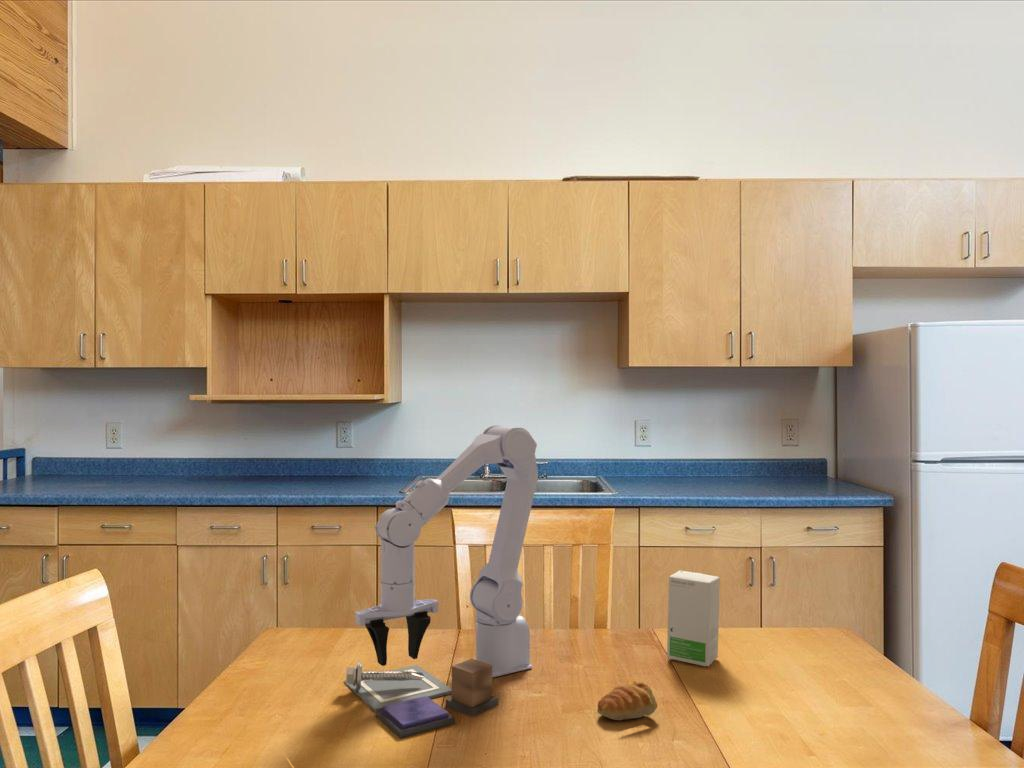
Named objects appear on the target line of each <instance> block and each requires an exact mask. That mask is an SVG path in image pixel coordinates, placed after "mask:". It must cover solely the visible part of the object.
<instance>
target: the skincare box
mask: <svg viewBox="0 0 1024 768" xmlns="http://www.w3.org/2000/svg"><path fill="white" fill-rule="evenodd" d="M720 579H721V576H716V575H711V574H705V573H701V572H693V571H686V570H680V569H679V570H678V571H676V572H675V573H673V574H671V575H670V576H669V577H668V604H667V605H668V607H667V640H666V642H667V644H666V658H667V659H669V660H675V661H680V662H684V663H689V664H692V665H693V664H694V665H698V666H703V667H706V666H708V667H709V666H710V665H711V664H712V663H713V662H714V661H715V660H716V659H717V658H718V657H719V656H718V655H719V628H720V627H719V626H720V625H719V621H720V616H719V615H720V588H721V587H720V584H721V582H720V581H721V580H720Z"/></svg>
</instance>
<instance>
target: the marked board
mask: <svg viewBox="0 0 1024 768" xmlns="http://www.w3.org/2000/svg"><path fill="white" fill-rule="evenodd" d="M393 670H394V671H400V670H401V671H406V672H407V671H408V672H422V673H423V674H424V678H423V679H422V680H409V681H402V682H401V681H395V682H394V681H388V682H387V681H381V682H380V681H377V682H376V681H370V682H369V681H363V682H362V681H361V687H360V690H358V692H356V685H355V686H353V684H346V679H345V680H343V683H344V684H345V685H346V686H347V687H348V688H349V689H350V690H351V691H352V692H353V693H354V694H356V696H357V697H359V698H360V700H362V701H363V702H364V704H366V705H367V706H368V707H369V708H370V709H371V710H372V711H374V712H375V713H376V710H378V709H382V706H387V705H391V704H395V703H399V702H403V701H407V700H411V699H415V698H420V697H424V696H427V697H429V698H430V699H431V700H432V699H435V698H439V697H443V696H447V695H452V687H450V686H448V685H447V684H446V683H444V682H443V681H441V680H440V679H438V678H436V677H435V676H434V675H433V674H431V673H430V672H428V671H426V670H425V669H424V668H422V667H420V666H419V665H418V664H416V665H411V666H406V667H402V668H397V669H393ZM393 670H392V669H391V671H393Z"/></svg>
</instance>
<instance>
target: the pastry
mask: <svg viewBox="0 0 1024 768" xmlns="http://www.w3.org/2000/svg"><path fill="white" fill-rule="evenodd" d="M653 693H654V692H653V691H652V688H651V687H650V686H649V685H648V684H647V683H645V682H643V681H638V682H637V681H633V682H632V683H630V684H628V683H627V684H623V685H618V686H615V687H614V688H613V689H612V690H611V691H609V692H608V693H606V694H605V695H604V696H603V697H601V698H600V700H598V702H597V710H596V711H597V714H599V715H601V716H603V717H606V718H608V719H611V720H614V721H622V720H632V719H638V718H643V717H644V716H650V715H652V714H653V713H655V711H656V710H657V708H658V703H657V700H656V696H655V695H654V694H653Z"/></svg>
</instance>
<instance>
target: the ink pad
mask: <svg viewBox="0 0 1024 768" xmlns="http://www.w3.org/2000/svg"><path fill="white" fill-rule="evenodd" d="M375 717H376V718H377V719H379V720H380V721H381V722H382V723H383V724H384V725H385V727H387V728H389V730H391V731H392V733H394V734H395V735H396V736H397V737H398V738H399V739H403V738H406V737H410V736H414V735H419V734H421V733H426V732H429V731H433V730H437V729H440V728H443V727H447V726H451V725H455V724H456V720H455V719H456V716H454V715H453V714H451V713H450V712H449V711H447V710H446V709H445V708H443V707H442V706H441V705H439V704H438V703H437V702H435V701H434V700H433V699H432V698H431V699H430V698H429V697H427V696H424V697H420V698H415V699H411V700H407V701H403V702H399V703H395V704H391V705H387V706H382V709H378V710H376V712H375Z"/></svg>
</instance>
